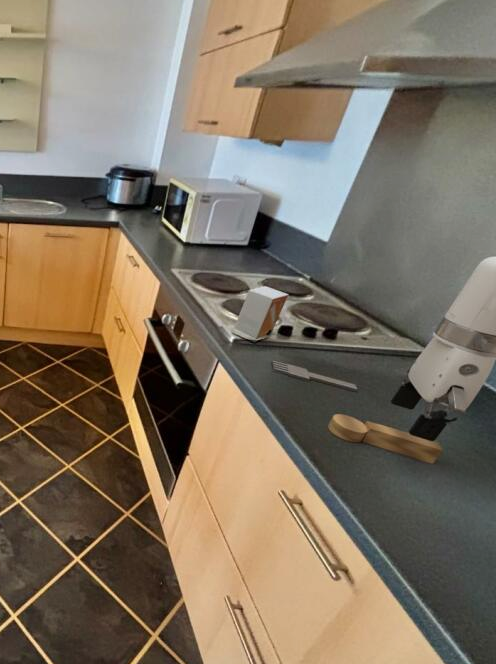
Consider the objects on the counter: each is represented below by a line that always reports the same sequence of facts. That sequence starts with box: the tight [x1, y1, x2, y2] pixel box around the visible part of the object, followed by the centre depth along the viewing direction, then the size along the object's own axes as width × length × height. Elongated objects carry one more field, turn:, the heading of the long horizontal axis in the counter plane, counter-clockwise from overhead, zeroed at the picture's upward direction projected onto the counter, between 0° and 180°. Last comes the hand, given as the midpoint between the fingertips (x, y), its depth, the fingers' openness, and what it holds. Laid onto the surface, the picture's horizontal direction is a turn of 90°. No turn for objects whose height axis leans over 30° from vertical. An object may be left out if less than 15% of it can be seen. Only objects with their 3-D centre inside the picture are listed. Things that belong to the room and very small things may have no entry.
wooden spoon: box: [327, 413, 443, 465], centre depth 76 cm, size 15×5×3 cm, turn 61°
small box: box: [233, 285, 289, 339], centre depth 110 cm, size 8×6×13 cm
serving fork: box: [271, 360, 358, 393], centre depth 95 cm, size 16×5×1 cm, turn 61°
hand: (410, 420), depth 73 cm, fingers open, 9 cm apart
